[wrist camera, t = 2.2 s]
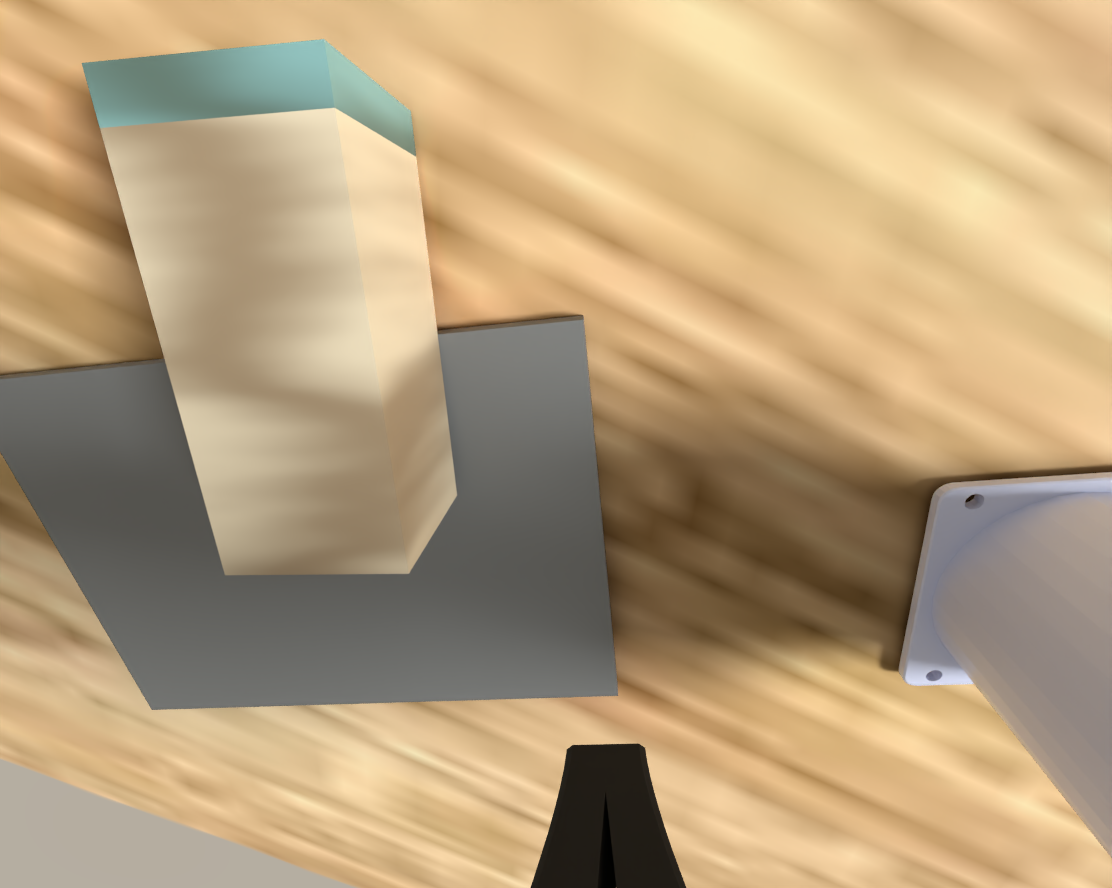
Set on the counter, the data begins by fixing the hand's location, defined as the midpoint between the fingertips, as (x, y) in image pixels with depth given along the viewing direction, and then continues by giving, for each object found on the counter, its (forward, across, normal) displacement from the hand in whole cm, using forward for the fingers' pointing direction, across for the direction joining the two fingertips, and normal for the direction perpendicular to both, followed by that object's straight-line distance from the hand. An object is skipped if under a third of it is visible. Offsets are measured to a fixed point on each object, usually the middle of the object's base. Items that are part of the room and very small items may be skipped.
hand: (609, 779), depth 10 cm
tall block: (+5, +6, -3) cm, 9 cm away
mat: (+8, +10, 0) cm, 13 cm away
